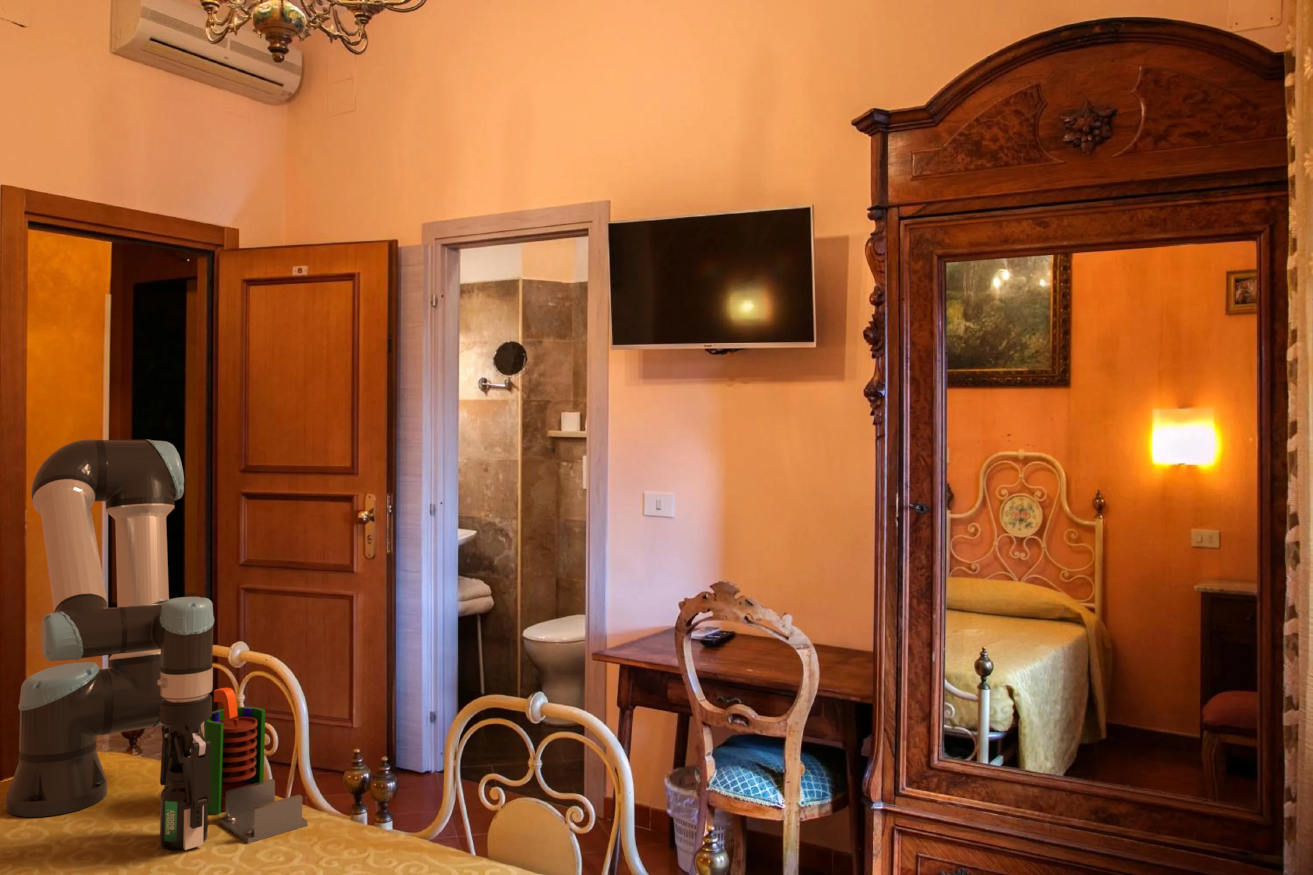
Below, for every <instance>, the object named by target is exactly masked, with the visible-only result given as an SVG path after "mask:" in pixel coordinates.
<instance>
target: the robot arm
mask: <svg viewBox="0 0 1313 875" xmlns="http://www.w3.org/2000/svg"><path fill="white" fill-rule="evenodd" d="M182 464H183V463H182V460H181V456H180V454H179V452H178V451H177V448H176V447H175V446H174V444H172V442H171V443H170V442H168V441H166V440H165V441H164V440H154V439H153V440H152V439H82V440H81V439H80V440H76V441H73V442H70V443H68V444H65V445H64V446H63V445H62V447H60V448H58V449H56V450H55V451H54V452H53V453H51V454H50V455H49V456H48V457H47V458H46V459H45V460H44V461H43V463H41V465H40V467H39V468H38V469H37V472H36V474H35V476H34V478H33V481H32V484H31V502H32V507H33V509H34V511H35V512H36V513H37V514H39V515H40V517H41V524H42V526H41V527H42V532H43V541H44V548H45V553H46V554H45V555H46V562H47V564H46V565H47V570H48V578H49V585H50V593H51V599H52V600H51V601H52V609H53V613H47V614H45V615H44V616H43V618H42V620H41V631H40V634H41V636H40V639H41V653H42V655H43V657H44V659H46V660H47V661H51V662H53V661H54V662H55V661H76V662H70V663H64V664H59V665H56V666H52V667H49V668H45V669H43V670H40V671H37V672H36V673H33V674H32V675H30V676H28V677H27V678H25V680H24V681H23V682H22V684H21V687H20V696H19V703H18V710H19V737H18V738H19V743H18V752H19V753H18V764H17V767H16V770H15V772H14V775H13V778H12V780H11V784H10V786H9V788H8V791H7V793H6V798H5V810H6V812H7V813H9V814H10V815H13V816H16V817H22V818H23V817H24V818H25V817H26V818H40V817H50V816H58V815H63V814H67V813H71V812H75V811H79V810H82V809H85V808H88V807H90V806H92V805H95V804H97V803H98V802H100V801H102V800H103V799H104V798H106V796H107V794H108V779H107V776H106V773H105V770H104V767H103V766H102V763H101V760H100V757H99V755H98V750H97V747H98V746H97V740H98V737H100V736H103V735H110V734H111V735H112V734H117V733H124V732H131V731H135V730H141V729H142V730H143V729H149V728H153V729H154V728H157V727H159V726H161V737H162V741H161V742H162V743H161V745H162V747H161V756H160V757H161V758H160V761H161V762H160V774H159V784H160V786H163V788H164V787H165V786H167V785H168V784H169V783H168V770H169V768H171V767H173V766H175V765H179V764H182V766H183V775H184V783H185V792H186V801H187V805H186V806H182V809H183V810H184V847H183V849H185V850H184V851H188V850H191V849H190V848H192V849H195V848H197V847H200V846H204V843H203V827H204V805H206V804H210V802H211V792H210V758H209V755H210V747H211V743H210V740H206V741H204V732H203V731H202V727H201V726H202V724H204V721H207V720H208V719H209V718H210V717H211V715H212V712H213V696H212V695H211V694H210V693H211V692H212V691H213V690H214V689H213V686H214V684H213V682H214V681H213V680H214V679H213V678H214V677H213V676H214V672H213V671H214V668H213V653H214V652H213V651H214V650H213V648H214V645H213V644H214V638H213V637H214V624H215V616H214V607H213V606H214V605H213V602H212V600H210V598H207V597H200V596H182V597H174V598H170V595H169V594H170V592H169V565H168V561H169V560H168V536H167V535H168V534H167V533H168V532H167V531H168V530H167V517H168V515H169V514H170V513H172V511H173V510H174V509H175V501H177V500H180V499H181V498H182V497H183V495H184V491H185V487H184V486H185V485H184V484H185V477H184V469H183V465H182ZM97 502H104V503H105V512H106V514H108V515H109V516H111V517H112V518H113V519H114V521H115V522H114V523H115V552H116V553H115V556H116V557H115V558H116V560H115V561H116V562H115V564H116V592H117V594H116V596H117V597H116V599H117V601H116V602H117V604H116V605H117V607H108V600H107V599H108V598H107V592H106V587H105V582H104V581H105V580H104V575H103V571H102V562H101V558H100V554H99V553H100V552H99V548H98V542H97V536H96V531H95V525H94V520H93V514H92V507H93V505H94V504H95V503H97ZM103 656H110V657H109V659H108V661H109V662H108V664H109V666H108V668H102V669H100V668H99V666H98V664H97V663H96V662H94V661H81V662H78V660H81V659H86V658H93V657H94V658H96V657H103ZM194 847H195V848H194ZM187 849H188V850H187Z"/></svg>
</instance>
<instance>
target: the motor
mask: <svg viewBox="0 0 1313 875" xmlns="http://www.w3.org/2000/svg"><path fill="white" fill-rule="evenodd" d="M213 690H214V691H213V692H214V693H213V695H214V696H213V702H214V703H217V702H218V703H219V702H220V703H221V704H222V705H223V708H222V709H218V710H215V711H212V715H211V717H210V718H209V719H208V720H207V721H204V722H203V724H204V726H203V741H206V740H210V743H211V747H210V755H209V758H210V792H211V802H210V804H208V814H210V815H217V814H218V815H220V814H221V813H222V812H221V811H224V812H223V813H226V791H228V790H232V789H235V788H239V787H243V786H247V785H251V784H255V783H258V782H262V781H264V775H265V774H264V771H265V742H266V741H265V740H266V739H265V737H266V709H264V708H259V707H253V706H238V704H237V697H236V694H235V691H234V689H232V688H231V687H221V688H218V689H213Z"/></svg>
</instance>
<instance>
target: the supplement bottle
mask: <svg viewBox="0 0 1313 875" xmlns="http://www.w3.org/2000/svg"><path fill="white" fill-rule="evenodd" d="M168 783H169V784H168V785H167V786H165V787H164V786H163V789H162V790H161V793H160V805H159V806H160V809H159V810H160V811H159V813H160V814H159V816H160V819H159V823H160V824H159V843H160V844H159V845H160V847H161V848H162V849H164V850H165V851H170V852H179V851H181V852H182V851H189V850H191V849H195V848H196V847H194V848H190V849H187V850H185V849H183V847H184V810H183V809H182V806H186V805H187V801H186V792H185V783H184V775H183V766H182V764H179V765H175V766H173V767H171V768H169V770H168ZM208 822H209V813H208V804H206V805H204V827H203V844H204V843H205V842H206V841H207V839H208V835H209V834H208V832H209V831H208V830H209V829H208V828H209V823H208Z"/></svg>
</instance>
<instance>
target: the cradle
mask: <svg viewBox="0 0 1313 875" xmlns="http://www.w3.org/2000/svg"><path fill="white" fill-rule="evenodd" d="M275 799H276V780H275V779H273V778H271V779H266V780H263V781H262V782H258V783H255V784H251V785H247V786H243V787H239V788H235V789H232V790H228V791H226V812H225V816H224V817H221V818H219V825H221V826H222V827H223V828H225V827H226V828H225V829H227V830H228V829H229V830H230V831H229V830H228V831H229V832H231V833H232V832H233V833H232V834H234V835H235V836H236V837H238V838H239V837H240V838H239V839H240V840H242V841H243V842H244V843H247V844H251V842H252V843H255V842H258V841H261V840H264V839H268V838H271V837H274V836H278V835H280V834H283V833H287V832H291V831H294V830H297V829H300V828H303V827H304V828H305V827H307V826H308V819H306V818H304V817H303V795H301V794H296V795H292V796H288V797H285V798H282V799H279V800H275ZM257 840H258V841H257ZM254 841H255V842H254Z"/></svg>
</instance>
